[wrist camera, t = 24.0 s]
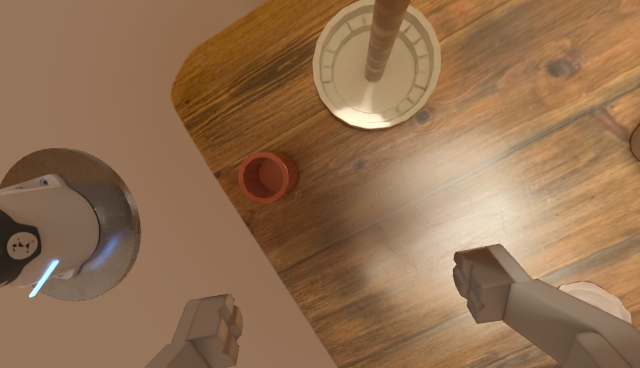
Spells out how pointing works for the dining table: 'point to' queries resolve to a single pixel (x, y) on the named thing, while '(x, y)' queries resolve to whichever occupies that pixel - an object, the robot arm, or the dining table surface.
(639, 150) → the mug
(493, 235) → the dining table surface
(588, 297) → the seashell
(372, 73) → the stick
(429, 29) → the bowl
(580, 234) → the dining table surface
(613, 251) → the dining table surface
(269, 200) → the utensil pot
